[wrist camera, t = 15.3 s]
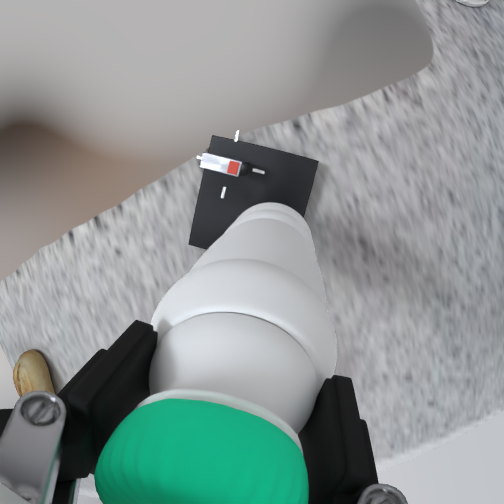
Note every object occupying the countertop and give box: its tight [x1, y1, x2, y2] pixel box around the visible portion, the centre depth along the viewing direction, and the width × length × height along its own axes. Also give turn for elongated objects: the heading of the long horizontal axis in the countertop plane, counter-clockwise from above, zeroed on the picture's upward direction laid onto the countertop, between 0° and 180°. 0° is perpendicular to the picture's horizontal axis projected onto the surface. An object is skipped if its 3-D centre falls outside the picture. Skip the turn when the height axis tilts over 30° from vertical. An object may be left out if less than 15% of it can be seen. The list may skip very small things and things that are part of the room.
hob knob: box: [200, 152, 249, 177], centre depth 35 cm, size 4×2×6 cm, turn 75°
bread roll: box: [13, 350, 55, 397], centre depth 52 cm, size 10×15×8 cm, turn 179°
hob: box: [189, 130, 319, 249], centre depth 40 cm, size 15×14×3 cm
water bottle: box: [94, 202, 337, 504], centre depth 16 cm, size 7×7×25 cm
